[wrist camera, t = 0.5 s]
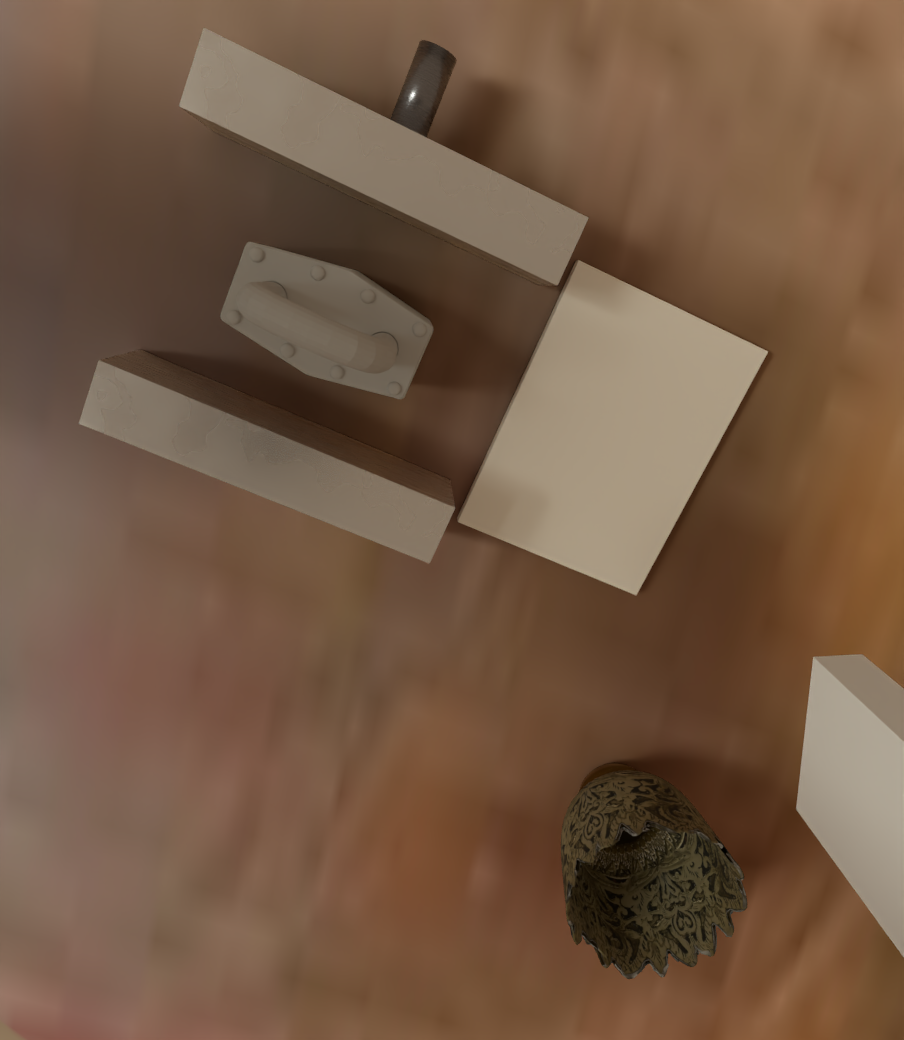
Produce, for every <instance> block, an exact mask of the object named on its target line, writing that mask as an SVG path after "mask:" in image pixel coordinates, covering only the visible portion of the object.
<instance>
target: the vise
mask: <svg viewBox="0 0 904 1040" xmlns="http://www.w3.org/2000/svg"><path fill="white" fill-rule="evenodd" d="M456 61H457V60H456V58H455V57H454V56H453V55H452V54H451V53H450V52H448V51H447V50H445V49H444V48H442V47H440V46H438V45H436V44H434V43H432V42H429V41H424V40H422V41H420V43H419V46H418V48H417V51H416V54H415V56H414V59H413V61H412V64H411V67H410V69H409V72H408V74H407V77H406V80H405V82H404V85H403V88H402V90H401V93H400V95H399V98H398V101H397V103H396V106H395V108H394V111H393V114H392V116H391V119H388V118H386V117H384V116H382V115H380V114H378V113H376V112H374V111H372V110H370V109H368V108H366V107H364V106H362V105H360V104H358V103H355V102H353V101H351V100H349V99H347V98H345V97H343V96H341V95H339V94H337V93H335V92H333V91H331V90H329V89H327V88H325V87H323V86H321V85H319V84H317V83H315V82H313V81H311V80H309V79H307V78H305V77H303V76H301V75H299V74H297V73H295V72H293V71H291V70H289V69H287V68H285V67H283V66H281V65H279V64H277V63H274V62H272V61H270V60H268V59H266V58H264V57H262V56H260V55H258V54H256V53H254V52H252V51H250V50H248V49H246V48H244V47H242V46H240V45H238V44H236V43H234V42H232V41H230V40H228V39H226V38H224V37H222V36H220V35H218V34H216V33H214V32H212V31H210V30H208V29H206V28H203V31H202V34H201V38H200V41H199V44H198V47H197V50H196V53H195V57H194V60H193V63H192V66H191V69H190V73H189V76H188V79H187V82H186V85H185V88H184V92H183V95H182V98H181V101H180V104H179V107H181V108H182V109H184V110H185V111H186V112H188V113H189V114H190V115H192V116H193V117H194V118H196V119H197V120H198V121H200V122H201V123H202V124H204V125H205V126H206V127H208V128H209V129H210V130H212V131H213V132H216V133H218V134H220V135H222V136H224V137H226V138H228V139H230V140H232V141H235V142H237V143H239V144H241V145H243V146H245V147H247V148H249V149H252V150H254V151H256V152H258V153H260V154H262V155H264V156H266V157H268V158H271V159H273V160H275V161H277V162H279V163H281V164H283V165H285V166H287V167H290V168H292V169H294V170H296V171H298V172H300V173H302V174H304V175H307V176H309V177H311V178H313V179H315V180H317V181H319V182H321V183H323V184H326V185H328V186H330V187H332V188H334V189H336V190H338V191H340V192H342V193H345V194H347V195H349V196H351V197H353V198H355V199H357V200H359V201H362V202H364V203H366V204H368V205H370V206H372V207H374V208H376V209H378V210H381V211H383V212H385V213H387V214H389V215H391V216H393V217H395V218H397V219H400V220H402V221H404V222H406V223H408V224H410V225H412V226H414V227H417V228H419V229H421V230H423V231H425V232H427V233H429V234H431V235H433V236H436V237H438V238H440V239H442V240H444V241H446V242H448V243H450V244H452V245H455V246H457V247H459V248H461V249H463V250H465V251H467V252H469V253H472V254H474V255H476V256H478V257H480V258H482V259H484V260H486V261H488V262H491V263H493V264H495V265H497V266H499V267H501V268H503V269H505V270H507V271H510V272H512V273H514V274H516V275H518V276H520V277H522V278H524V279H527V280H529V281H531V282H533V283H535V284H537V285H550V286H558V284H559V281H560V279H561V277H562V275H563V273H564V270H565V268H566V266H567V264H568V262H569V260H570V257H571V255H572V253H573V251H574V249H575V247H576V244H577V242H578V240H579V238H580V236H581V233H582V231H583V229H584V227H585V225H586V223H587V220H588V217H586V216H584V215H582V214H580V213H578V212H576V211H574V210H572V209H570V208H568V207H566V206H564V205H562V204H560V203H558V202H556V201H554V200H552V199H550V198H548V197H546V196H544V195H542V194H540V193H538V192H536V191H534V190H532V189H530V188H528V187H526V186H524V185H522V184H520V183H518V182H515V181H513V180H511V179H509V178H507V177H505V176H503V175H501V174H499V173H497V172H495V171H493V170H491V169H489V168H487V167H485V166H483V165H481V164H479V163H477V162H475V161H473V160H471V159H469V158H467V157H465V156H463V155H461V154H459V153H457V152H455V151H453V150H451V149H449V148H447V147H445V146H443V145H441V144H439V143H436V142H434V141H432V140H430V139H428V138H426V137H427V134H428V132H429V129H430V126H431V124H432V121H433V119H434V116H435V114H436V111H437V109H438V106H439V104H440V101H441V99H442V96H443V94H444V91H445V89H446V86H447V84H448V81H449V79H450V76H451V74H452V71H453V69H454V66H455V63H456ZM79 424H81V425H83V426H86V427H88V428H91V429H93V430H96V431H98V432H101V433H103V434H106V435H108V436H111V437H113V438H116V439H118V440H121V441H123V442H126V443H129V444H131V445H134V446H136V447H139V448H141V449H144V450H146V451H149V452H151V453H154V454H156V455H159V456H161V457H164V458H166V459H169V460H171V461H174V462H176V463H179V464H181V465H184V466H186V467H189V468H191V469H194V470H196V471H199V472H201V473H204V474H206V475H209V476H211V477H214V478H216V479H219V480H221V481H224V482H226V483H229V484H231V485H234V486H236V487H239V488H241V489H244V490H246V491H249V492H251V493H254V494H256V495H259V496H261V497H264V498H266V499H269V500H271V501H274V502H276V503H279V504H281V505H284V506H286V507H289V508H291V509H294V510H296V511H299V512H301V513H304V514H306V515H309V516H311V517H314V518H316V519H319V520H321V521H324V522H326V523H329V524H331V525H334V526H336V527H339V528H341V529H344V530H346V531H349V532H351V533H354V534H356V535H359V536H361V537H364V538H366V539H369V540H371V541H374V542H376V543H379V544H381V545H384V546H386V547H389V548H391V549H394V550H396V551H399V552H401V553H404V554H406V555H409V556H411V557H414V558H416V559H419V560H421V561H424V562H426V563H429V564H430V562H431V560H432V558H433V555H434V553H435V551H436V549H437V547H438V544H439V542H440V540H441V538H442V536H443V534H444V531H445V529H446V527H447V525H448V523H449V521H450V518H451V516H452V514H453V512H454V510H455V503H454V498H453V492H452V487H451V482H450V479H448V478H445V477H443V476H440V475H438V474H436V473H433V472H431V471H428V470H426V469H424V468H421V467H419V466H417V465H414V464H412V463H409V462H407V461H405V460H402V459H400V458H398V457H395V456H393V455H390V454H388V453H386V452H383V451H381V450H378V449H376V448H374V447H371V446H369V445H367V444H364V443H362V442H359V441H357V440H355V439H352V438H350V437H348V436H345V435H343V434H340V433H338V432H336V431H333V430H331V429H328V428H326V427H324V426H321V425H319V424H317V423H314V422H312V421H309V420H307V419H305V418H302V417H300V416H298V415H295V414H293V413H290V412H288V411H286V410H283V409H281V408H278V407H276V406H274V405H271V404H269V403H267V402H264V401H262V400H259V399H257V398H255V397H252V396H250V395H248V394H245V393H243V392H240V391H238V390H236V389H233V388H231V387H228V386H226V385H224V384H221V383H219V382H217V381H214V380H212V379H209V378H207V377H205V376H202V375H200V374H198V373H195V372H193V371H190V370H188V369H186V368H183V367H181V366H178V365H176V364H174V363H171V362H169V361H167V360H164V359H162V358H159V357H157V356H155V355H152V354H150V353H148V352H145V351H143V350H137V351H133V352H129V353H125V354H121V355H117V356H113V357H109V358H105V359H101V360H99V361H98V364H97V367H96V370H95V374H94V377H93V380H92V383H91V386H90V389H89V393H88V396H87V399H86V402H85V405H84V408H83V412H82V415H81V418H80V421H79Z"/></svg>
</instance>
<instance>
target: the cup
mask: <svg viewBox="0 0 904 1040" xmlns="http://www.w3.org/2000/svg"><path fill="white" fill-rule="evenodd" d="M561 860H562V873H563V883H564V893H565V902H566V916H567V922H568V924H569V926H570V928H571V935H572V938H573V940H574V942H575V943H576V945H578V944H579V943H580V942H581V941H582V937H583V938H584V940H585V942H586V944H589V945H592V946H593V947H594V948H595V951H596V952H597V954H598V957H599V959H600V962H601V964H602V966H604V967H605V968H608V967H609V965H610V964H611V963H613V964H614V965H615V967H616V968H617V969H618V970H619V971H620V972H621V974H622V975H623V976H624V977H626V978H627V979H632V978H635V977H636V976H637V975H638V974H639V973H640V972H641V971H642V970H643V969H644V968H645V966H646V965H647V964H650V965H651V966H652V968H653V970H654V971H656V972H657V973H658V975H659V976H661V977H664V976H665V974H666V972H667V969H668V966H669V965H668V954H669V953H670V954H671V956H672V957H673V958H674V959H675V960H676V961H680V962H682V963H684V964H685V965H687V966H690V967H694V966H695V965H696V964H697V955H698V954H699V953H701V954H705V955H708V956H710V957H711V956H713V955H714V954H715V951H716V946H717V935H716V926H718V927H719V928H720V929H721V930H722V931H723V932H724V934H725V935H726V936H727V937H732V935H733V932H734V926H733V923H732V919H731V914H732V913H733V912H734V911H735V912H741V911H744V910H745V909H746V908H747V898H746V893H745V890H744V887H743V884H742V881H741V880H743V879H744V874H743V872H742V870H741V868H740V867H739V865H738V864H737V863H736V862H735V860H734V859H733V858H732V857H731V855H730V854H729V852H728V851H727V849H726V848H725V847H724V845H723V844H722V842H721V841H720V840H719V838H718V837H717V836H716V834H715V833H714V832H713V830H712V829H711V828H710V826H709V825H708V824H707V822H706V821H705V820H704V819H703V817H702V816H701V815H700V813H699V812H698V811H697V809H696V808H695V807H694V806H693V805H692V803H691V802H690V801H689V800H688V799H687V798H686V797H685V796H684V795H683V794H682V793H681V792H680V791H679V790H678V789H676V788H675V787H674V786H673V785H672V784H670V783H669V782H667V781H665V780H663V779H662V778H660V777H657V776H655V775H653V774H650V773H646V772H641V771H637V770H636V769H634V768H632V767H630V766H628V765H625V764H619V763H611V764H606V765H602V766H600V767H598V768H596V769H594V770H593V771H592V772H590V773H589V774H588V775H587V776H586V778H585V779H584V780H583V782H582V784H581V787H580V790H579V793H578V794H577V795H576V796H575V798H574V799H573V800H572V802H571V804H570V806H569V808H568V810H567V813H566V815H565V818H564V821H563V826H562V834H561ZM698 951H700V952H698Z"/></svg>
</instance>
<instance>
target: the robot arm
mask: <svg viewBox="0 0 904 1040" xmlns="http://www.w3.org/2000/svg"><path fill="white" fill-rule="evenodd" d="M796 810H797V811H798V813H799V814H800V815H801V817H802V818H803V820H804V821H805V822H806V824H807V825H808V826H809V828H810V829H811V831H812V832H813V833H814V835H815V836H816V837H817V839H818V840H819V842H820V843H821V844H822V846H823V847H824V848H825V850H826V851H827V853H828V854H829V855H830V857H831V858H832V859H833V861H834V862H835V864H836V865H837V866H838V868H839V869H840V870H841V872H842V873H843V875H844V876H845V877H846V879H847V880H848V881H849V883H850V884H851V886H852V887H853V888H854V890H855V891H856V892H857V894H858V895H859V897H860V898H861V899H862V901H863V902H864V903H865V905H866V906H867V908H868V909H869V910H870V912H871V913H872V914H873V916H874V917H875V919H876V920H877V921H878V923H879V924H880V925H881V927H882V928H883V930H884V931H885V932H886V934H887V935H888V936H889V938H890V939H891V941H892V942H893V943H894V945H895V946H896V947H897V949H898V950H899V952H900V953H901V954H902V956H903V957H904V688H902V687H901V686H900V685H899V684H897V683H896V682H895V681H894V680H893V679H891V678H890V677H889V676H888V675H887V674H885V673H884V672H883V671H882V670H881V669H879V668H878V667H877V666H876V665H875V664H873V663H872V662H871V661H870V660H869V659H867V658H866V657H865V656H864V655H863V654H857V655H839V656H820V657H813V664H812V673H811V682H810V690H809V699H808V708H807V717H806V726H805V735H804V744H803V752H802V761H801V770H800V779H799V788H798V797H797V806H796Z"/></svg>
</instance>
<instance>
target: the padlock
mask: <svg viewBox="0 0 904 1040" xmlns="http://www.w3.org/2000/svg"><path fill="white" fill-rule="evenodd" d="M220 318H221V320H222V321H223V322H225V323H227V324H228V325H230V326H231V327H233V328H234V329H236V330H237V331H239V332H241V333H242V334H244V335H245V336H247V337H248V338H250V339H251V340H253V341H255V342H256V343H258V344H259V345H261V346H262V347H264V348H265V349H267V350H269V351H270V352H272V353H273V354H275V355H276V356H278V357H280V358H281V359H283V360H284V361H286V362H287V363H289V364H290V365H292V366H294V367H295V368H297V369H298V370H300V371H301V372H303V373H304V374H306V375H308V376H312V377H316V378H320V379H324V380H328V381H331V382H335V383H339V384H343V385H347V386H350V387H354V388H358V389H362V390H366V391H370V392H373V393H377V394H381V395H385V396H389V397H393V398H396V399H403V398H404V397H405V395H406V393H407V391H408V388H409V386H410V384H411V382H412V379H413V377H414V375H415V372H416V370H417V368H418V365H419V363H420V361H421V359H422V356H423V354H424V352H425V349H426V347H427V345H428V342H429V340H430V338H431V336H432V333H433V326H432V324H431V321H430V320H429V319H428V318H426V317H425V316H423V315H422V314H420V313H419V312H417V311H416V310H415V309H413V308H412V307H410V306H409V305H407V304H406V303H404V302H403V301H401V300H400V299H398V298H397V297H395V296H394V295H393V294H391V293H390V292H388V291H387V290H385V289H384V288H382V287H381V286H379V285H378V284H376V283H375V282H373V281H372V280H370V279H369V278H368V277H366V276H365V275H363V274H362V273H360V272H359V271H357V270H353V269H350V268H346V267H342V266H339V265H335V264H332V263H328V262H325V261H321V260H317V259H314V258H310V257H307V256H303V255H300V254H296V253H292V252H289V251H285V250H282V249H278V248H275V247H271V246H266V245H262V244H258V243H254V242H248V243H247V244H246V245H245V248H244V250H243V253H242V256H241V259H240V261H239V264H238V267H237V270H236V273H235V275H234V278H233V281H232V284H231V286H230V289H229V292H228V295H227V297H226V300H225V303H224V306H223V309H222V311H221V314H220Z"/></svg>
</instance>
